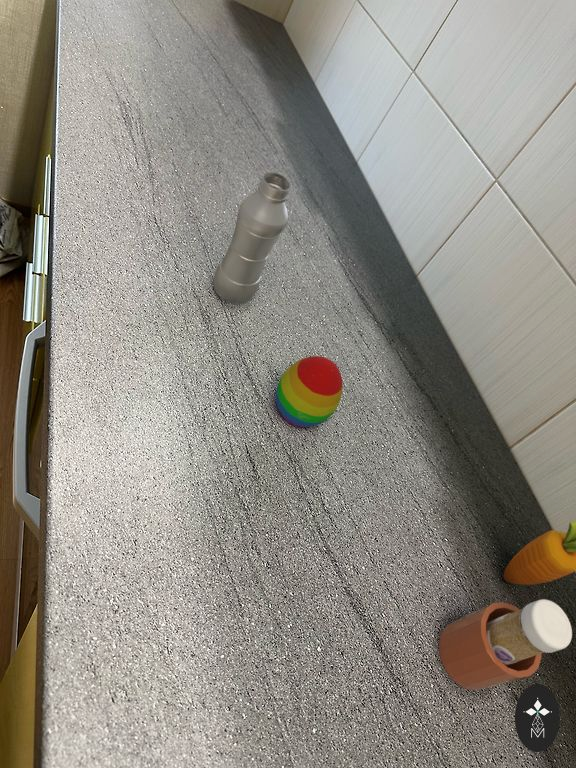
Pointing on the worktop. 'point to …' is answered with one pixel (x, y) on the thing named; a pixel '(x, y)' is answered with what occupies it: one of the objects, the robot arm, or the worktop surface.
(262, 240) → the plastic bottle
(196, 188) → the worktop surface
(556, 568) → the carrot
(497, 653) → the sprinkles bottle
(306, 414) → the decorative egg
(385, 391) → the worktop surface
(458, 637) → the terracotta pot
